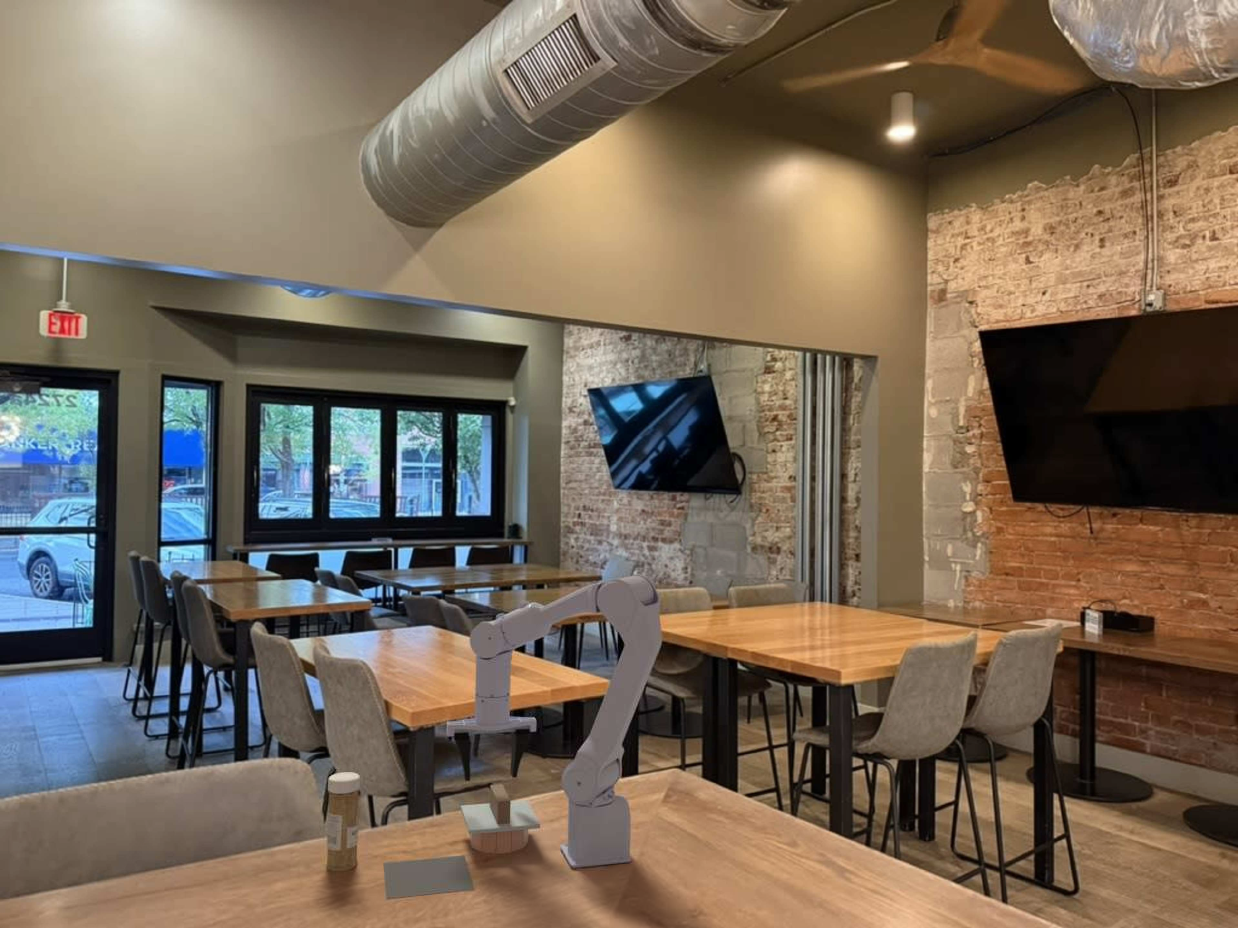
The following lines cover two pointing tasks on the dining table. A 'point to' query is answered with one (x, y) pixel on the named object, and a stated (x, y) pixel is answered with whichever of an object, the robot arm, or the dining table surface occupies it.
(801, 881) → the dining table surface
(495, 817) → the lid
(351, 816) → the sprinkles bottle
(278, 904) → the dining table surface
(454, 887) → the mat
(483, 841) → the bowl
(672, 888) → the dining table surface
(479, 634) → the robot arm
